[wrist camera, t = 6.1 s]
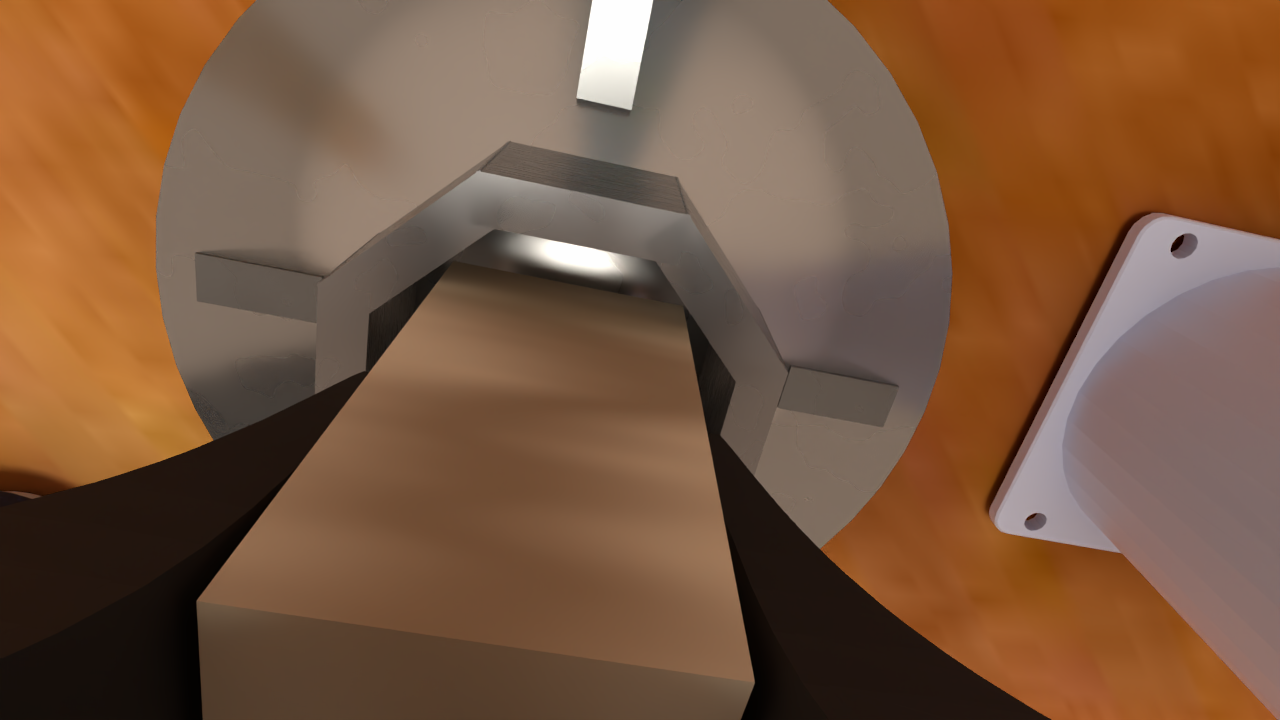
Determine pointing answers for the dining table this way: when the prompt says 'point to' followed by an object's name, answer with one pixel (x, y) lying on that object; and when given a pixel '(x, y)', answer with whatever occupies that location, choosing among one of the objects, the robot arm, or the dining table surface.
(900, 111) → the rosette socket
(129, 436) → the dining table surface
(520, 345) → the beige wooden block
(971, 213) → the dining table surface
